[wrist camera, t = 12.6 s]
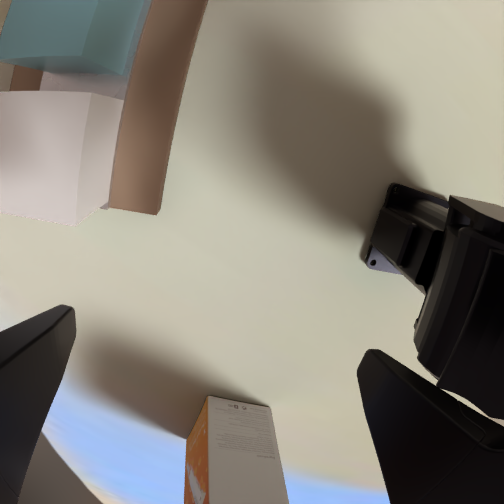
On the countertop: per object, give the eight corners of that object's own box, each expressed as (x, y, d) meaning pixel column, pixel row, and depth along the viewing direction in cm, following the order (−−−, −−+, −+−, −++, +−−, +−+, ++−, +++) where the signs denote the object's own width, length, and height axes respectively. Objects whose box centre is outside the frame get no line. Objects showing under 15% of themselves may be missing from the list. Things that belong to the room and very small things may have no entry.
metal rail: (194, -95, 11) (194, -99, 10) (109, 207, 18) (107, 209, 18) (113, -93, 10) (111, -96, 9) (31, 194, 17) (27, 196, 17)
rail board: (237, -80, 13) (238, -91, 11) (160, 209, 20) (156, 215, 19) (84, -80, 11) (77, -88, 9) (10, 185, 18) (-1, 190, 17)
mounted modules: (192, -95, 11) (188, -137, 6) (108, 201, 18) (75, 226, 13) (104, -91, 10) (83, -127, 5) (23, 188, 17) (-23, 208, 12)
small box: (206, 393, 27) (208, 526, 14) (272, 406, 28) (297, 529, 16) (184, 440, 29) (181, 550, 17) (241, 450, 30) (253, 554, 18)
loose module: (149, -14, 13) (124, -62, 8) (122, 75, 15) (81, 55, 10) (76, -13, 12) (33, -49, 7) (50, 72, 14) (-7, 60, 9)
